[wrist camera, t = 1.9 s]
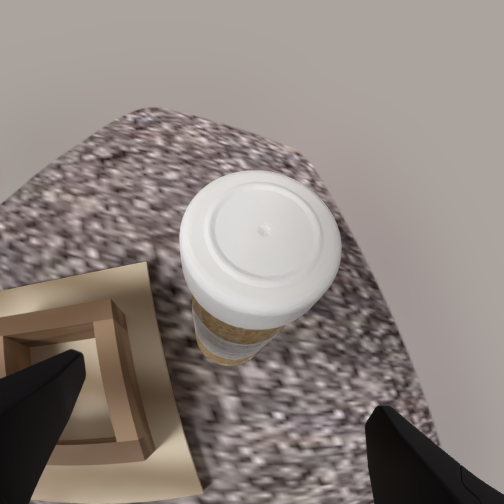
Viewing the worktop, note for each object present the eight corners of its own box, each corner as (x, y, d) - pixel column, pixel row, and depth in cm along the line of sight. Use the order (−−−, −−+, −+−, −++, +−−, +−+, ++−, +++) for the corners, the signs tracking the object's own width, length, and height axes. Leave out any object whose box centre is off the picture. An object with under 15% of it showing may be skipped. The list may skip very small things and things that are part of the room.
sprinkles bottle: (224, 288, 21) (252, 142, 9) (276, 330, 20) (372, 225, 9) (180, 337, 19) (141, 233, 7) (234, 382, 18) (285, 352, 7)
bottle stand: (203, 490, 15) (203, 512, 11) (35, 496, 12) (5, 509, 8) (147, 266, 21) (136, 236, 17) (2, 295, 18) (-27, 273, 14)
